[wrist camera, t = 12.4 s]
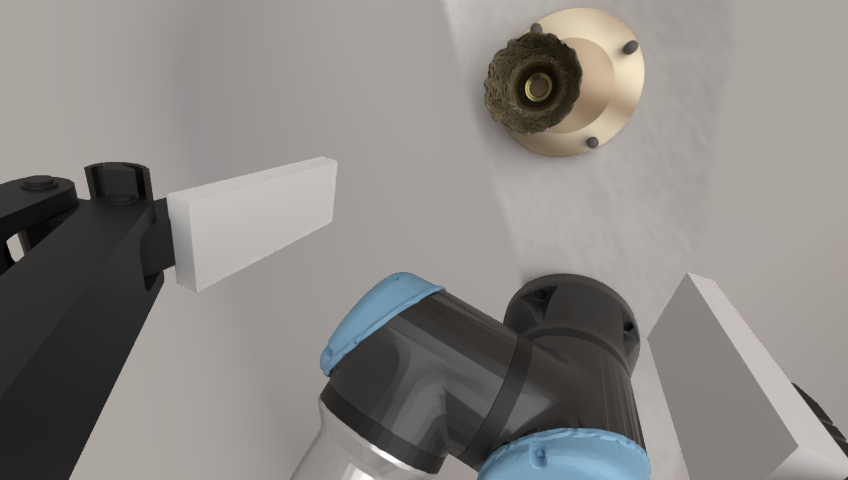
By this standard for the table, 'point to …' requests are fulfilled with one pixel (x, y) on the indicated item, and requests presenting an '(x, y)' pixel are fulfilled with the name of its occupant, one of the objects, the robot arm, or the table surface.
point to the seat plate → (591, 82)
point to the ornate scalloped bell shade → (519, 70)
